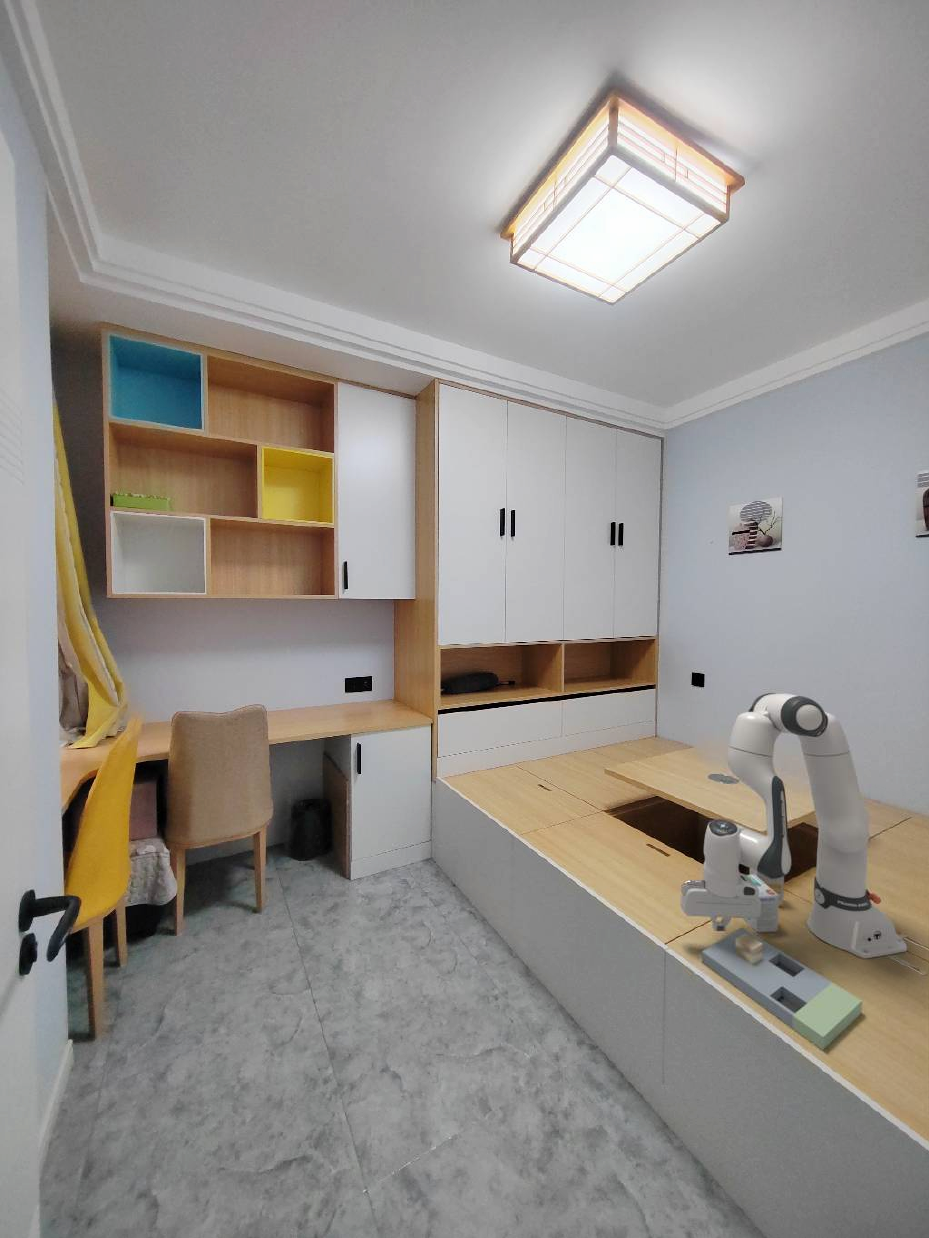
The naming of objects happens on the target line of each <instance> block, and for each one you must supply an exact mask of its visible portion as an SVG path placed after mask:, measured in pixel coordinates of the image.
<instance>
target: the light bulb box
mask: <svg viewBox="0 0 929 1238" xmlns="http://www.w3.org/2000/svg"><path fill="white" fill-rule="evenodd" d="M746 875H747V876H748V877H749V878H750V879H751V880H752V881H753V882H754V884H755V885H756V886H757V888H758V889H759V894H758V896H759V898H760V901H761V916H760V917H759V918H758V919H753V918H743V920H744V921H745V922H746V923H747V924H748V925H749V926H750V927H751V928H752V929H753V930H754V931H755V932H756V933H764V932H765V933H766V932H778V931H779V930H778V929H779V925H778V924H779V908H780V907H779V895H778V894H777V893H776V892H774V891H773V890H772V889H771V888H770V887H769V886H767V885H766V884H765V883H764V882H763V881H762V880H761V879H759V878H758V877H757V876H756V875H750V874H746Z"/></svg>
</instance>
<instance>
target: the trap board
mask: <svg viewBox="0 0 929 1238" xmlns="http://www.w3.org/2000/svg"><path fill="white" fill-rule="evenodd" d="M745 933H746V934H748V935H750V936H751V937H753V938H754V939H756V940H758V941H759V942H761V943H762V959H760V960H759V961H757V962H756V963H754V964H753V965H752V964H750V963H749V962H747V961H746V960H744V959H743V958H741V957H740V956H738V955H737V954H735V947H736V939H737V938H738V937H740V936H741V935H743V934H745ZM701 963H702V964H703V965H705V966H706V967H707V968H709V969H711V970H712V971H713V972H715V973H716V974H718V976H719V977H721V978H723V979H724V980H725V981H727V982H729V984H731V985H733V987H735V988H737V989H738V990H740V992H742V993H743V994H745V995H746V996H747V995H748V996H747V997H749V998H750V997H751V998H750V999H752V1000H753V1001H754V1002H755V1003H757V1004H758V1005H759V1006H761V1007H762V1008H765V1009H766V1010H767V1011H768V1012H770V1014H772V1015H773V1016H775V1017H776V1018H778V1019H779V1020H781V1022H783V1023H785V1024H786V1025H787V1026H789V1028H791V1029H793V1028H792V1022H793V1015H794V1014H795V1013H796V1012H798V1011H799V1010H800V1009H801V1008H802V1007H804V1006H805V1005H806V1004H807V1003H808V1002H809V1001H811V1000H812V999H813V998H814V997H815V996H817V995H818V994H819V993H820V992H821V991H823V990H824V989H825V988H826V987H827V986H829V985H830V984H831V983H833V981H830V980H829V979H828V978H825V977H824V976H823V975H821V974H819V973H818V972H815V971H814V970H813V969H811V968H809V967H807V966H806V965H805V964H803V963H801V962H799V961H798V960H796V959H795V958H793V957H791V956H790V955H788V954H786V953H785V952H783V951H781V950H780V949H778V948H777V947H775V946H773V945H772V944H770V943H768V942H767V941H765V940H763V939H762V938H760V937H759V936H757V935H755V934H754V933H752V932H750V931H749V930H747V929H746V928H744V927H740V928H738V929H737V930H735V931H734V932H732V933H730V934H728V935H727V936H725V937H724V938H722V939H720V940H718V941H717V942H715V943H714V944H712V945H710V946H709V947H707V948H705V949H704V950H702V952H701Z"/></svg>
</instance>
